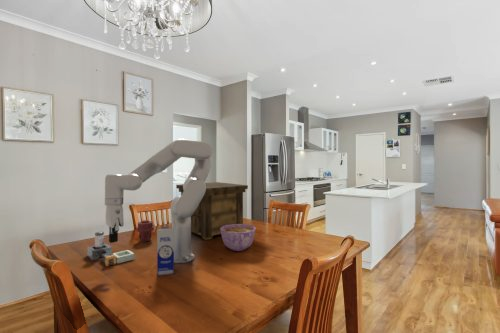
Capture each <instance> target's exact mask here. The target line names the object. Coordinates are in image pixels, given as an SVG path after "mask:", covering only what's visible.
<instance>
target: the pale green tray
mask: <svg viewBox="0 0 500 333" xmlns="http://www.w3.org/2000/svg"><path fill="white" fill-rule="evenodd" d="M112 255H115V256H116V264H121V263H125V262H129V261H134V260H136V258H135V253H134V252H133V251H131V250H129V249H126V250H121V251H118V252H112Z"/></svg>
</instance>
